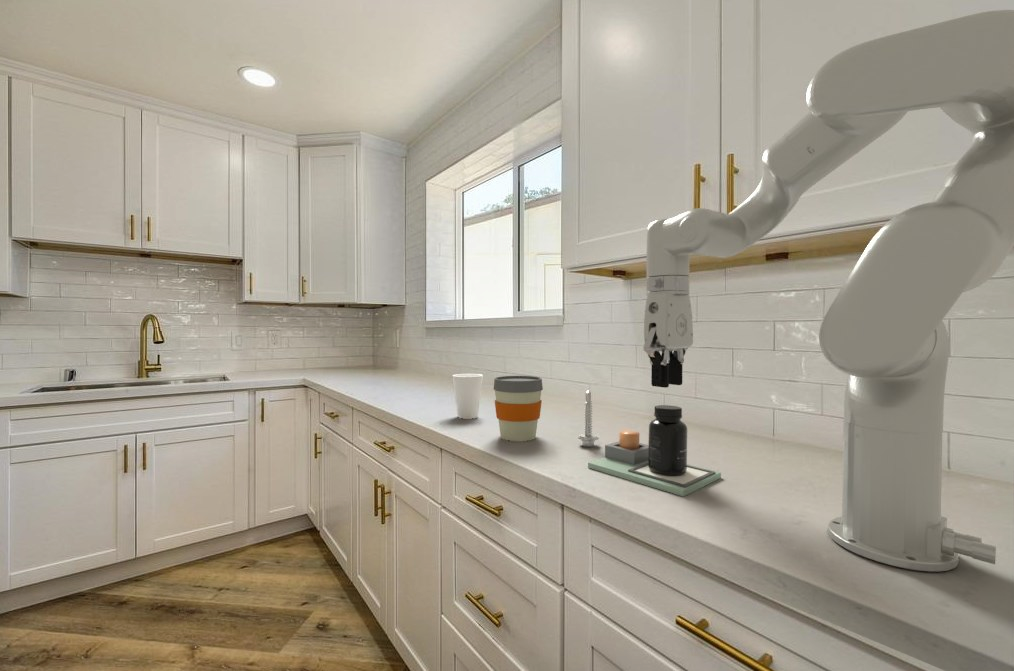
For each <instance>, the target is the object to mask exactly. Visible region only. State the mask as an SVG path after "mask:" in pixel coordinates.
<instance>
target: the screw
mask: <svg viewBox="0 0 1014 671" xmlns="http://www.w3.org/2000/svg"><path fill="white" fill-rule="evenodd" d="M592 402H593V401H592V393H591V391H589V390H587V391H586V392H585V402H584V433H580V434H579V435H578V436H577V439H579V440H581V441H582V446H583V447H588V448H591V447H594V446H595V444H594V443H595V442H596V441H598V440H599V436H598V435H597V434H595V433H593V423H592V422H593V418H592V417H593V411H592V410H593V403H592Z"/></svg>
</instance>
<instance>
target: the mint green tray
mask: <svg viewBox="0 0 1014 671" xmlns="http://www.w3.org/2000/svg"><path fill="white" fill-rule="evenodd" d="M648 451H649V444H645V443H641V442H639V448H638V449H634V450H630V449H626V448H622V447H619V440H618V441H615V442H612V443H608V444H605V445H604V457H601V458H598V459H595V460H592V461H588V463H587V468H588V469H593V470H595V471H597V472H602V473H605V474H608V475H612V476H615V477H618V478H622V479H624V480H626V481H627V480H628V481H631V482H634V483H638V484H640V485H644V486H647V487H651V488H654V489H658V490H661V491H664V492H667V493H670V494H674V495H678V496H680V497H685V496H687V495H689V494H691V493H693V492H695V491H697V490H699V489H701V488H703V487H705V486H707V485H709V484H711V483H713V482H715V481H718V480H719V479H721V478H722V472H721V471H716V470H712V469H708V468H704V467H700V466H697V465H692V464H688V463H687V471H686V473H685V474H683V475H679V476H668V475H661V474H657V473H655V472H653V471H651V470H650V469H649V466H648Z"/></svg>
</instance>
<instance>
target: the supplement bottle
mask: <svg viewBox="0 0 1014 671" xmlns="http://www.w3.org/2000/svg"><path fill="white" fill-rule="evenodd" d="M682 412H683V408H682V407H680V406H677V405H668V404H665V405H664V404H662V405H660V404H659V405H654V413H653V416H654V417H655V419H653V420H651V421H650V422H649V424H648V445H649V451H648V466H649V469H650V470H651V471H653V472H655V473H657V474H661V475H668V476H679V475H683V474H685V473H686V471H687V464H688V427H687V425H686V424H685V422H683V420H681V419H683V413H682Z"/></svg>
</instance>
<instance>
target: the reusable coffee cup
mask: <svg viewBox="0 0 1014 671" xmlns="http://www.w3.org/2000/svg"><path fill="white" fill-rule="evenodd" d="M543 389H544V387H543V378H542V377H539V376H533V375H503V376H497V377H495V378H494V380H493V390H494V395H495V399H494V407H495V414H496V418H497V419H498V426H499V433H500V438H501V439H502V440H504V439H505V440H504V441H508V440H510V441H509V442H528V441H527V440H529V441H533V440H535V439H536V437H537V430H538V429H537V428H538V421H539V419H540V418H541V417H540V416H541V409H542V402H543V401H542V399H541V396H542V391H543ZM532 439H533V440H532Z"/></svg>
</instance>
